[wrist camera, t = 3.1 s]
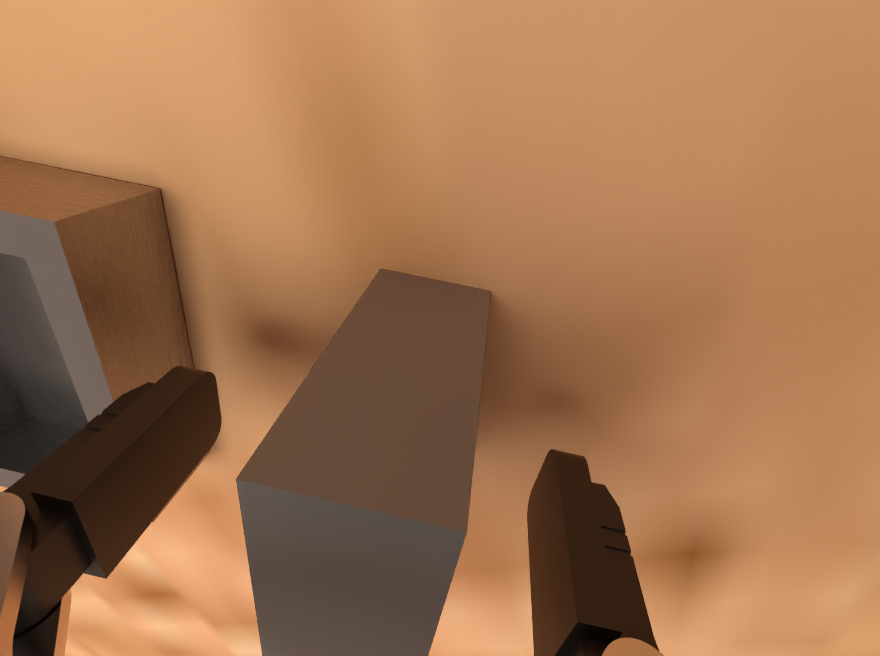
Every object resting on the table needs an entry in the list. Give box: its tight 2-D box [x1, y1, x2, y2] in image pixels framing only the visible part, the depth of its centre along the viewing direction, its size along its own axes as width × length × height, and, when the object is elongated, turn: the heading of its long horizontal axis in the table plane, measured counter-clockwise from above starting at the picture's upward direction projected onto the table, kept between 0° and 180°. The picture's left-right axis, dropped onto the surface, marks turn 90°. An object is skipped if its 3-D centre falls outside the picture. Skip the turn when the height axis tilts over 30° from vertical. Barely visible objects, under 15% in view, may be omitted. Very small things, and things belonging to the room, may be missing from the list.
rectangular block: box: [236, 269, 491, 656], centre depth 10 cm, size 3×6×7 cm, turn 171°
